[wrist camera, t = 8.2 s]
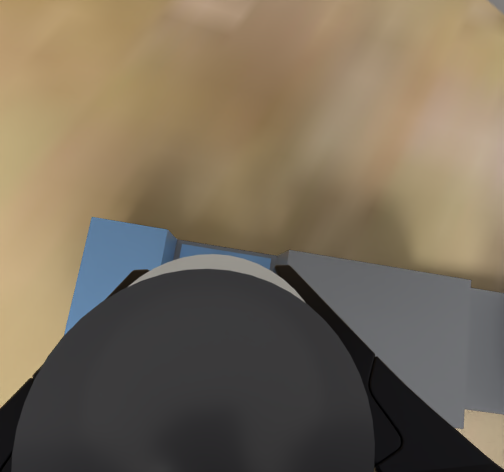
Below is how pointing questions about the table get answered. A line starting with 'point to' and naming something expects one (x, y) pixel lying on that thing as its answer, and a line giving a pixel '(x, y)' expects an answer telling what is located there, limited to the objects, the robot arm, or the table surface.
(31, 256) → the table surface
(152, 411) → the dark-capped white cylinder
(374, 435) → the robot arm
